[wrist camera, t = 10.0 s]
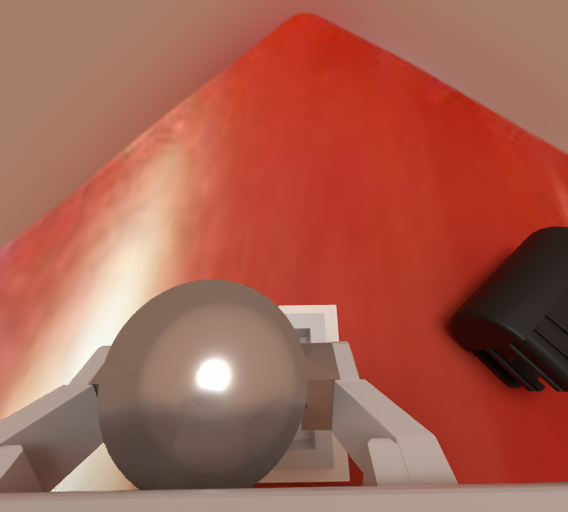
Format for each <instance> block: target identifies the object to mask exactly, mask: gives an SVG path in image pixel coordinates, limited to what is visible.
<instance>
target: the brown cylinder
mask: <svg viewBox="0 0 568 512" xmlns="http://www.w3.org/2000/svg"><path fill="white" fill-rule="evenodd" d="M307 378H308V377H307V367H306V360H305V356H304V352H303V348H302V345H301V342H300V340H299V337H298V335H297V333H296V331H295V329H294V327H293V325H292V324H291V322H290V321H289V319H288V318H287V317H286V315H285V314H284V313H283V312H282V311H281V309H280V308H279V307H278V306H277V305H276V304H275V303H273V302H272V301H271V300H270V299H269V298H267V297H266V296H264V295H263V294H261V293H260V292H258V291H256V290H254V289H252V288H250V287H248V286H246V285H242V284H239V283H236V282H231V281H225V280H198V281H193V282H189V283H185V284H182V285H179V286H176V287H173V288H171V289H169V290H167V291H165V292H162V293H161V294H159V295H158V296H156V297H154V298H153V299H151V300H150V301H149V302H147V303H146V304H145V305H143V306H142V307H141V308H140V309H139V310H138V311H137V312H136V313H135V314H134V315H133V316H132V317H131V318H130V319H129V320H128V321H127V323H126V324H125V325H124V326H123V328H122V329H121V331H120V332H119V334H118V335H117V337H116V338H115V340H114V342H113V344H112V346H111V348H110V350H109V352H108V354H107V357H106V359H105V362H104V365H103V368H102V372H101V376H100V380H99V387H98V395H97V411H98V419H99V426H100V430H101V434H102V438H103V441H104V443H105V446H106V448H107V450H108V453H109V455H110V456H111V458H112V460H113V461H114V463H115V465H116V466H117V468H118V469H119V470H120V471H121V472H122V474H123V475H124V476H125V477H126V478H127V479H128V480H129V481H130V482H131V483H133V484H134V485H135V486H136V487H137V488H139V489H140V490H182V489H236V488H251V487H252V486H254V485H255V484H257V483H258V482H259V481H260V480H261V479H263V478H264V477H265V476H266V475H267V474H268V473H269V472H270V471H271V470H272V469H273V468H274V467H275V466H276V465H277V464H278V463H279V461H280V460H281V458H282V457H283V456H284V454H285V453H286V452H287V450H288V448H289V447H290V445H291V443H292V441H293V439H294V438H295V436H296V433H297V431H298V428H299V426H300V423H301V420H302V416H303V413H304V409H305V404H306V397H307Z"/></svg>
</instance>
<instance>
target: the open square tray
mask: <svg viewBox="0 0 568 512" xmlns="http://www.w3.org/2000/svg"><path fill="white" fill-rule="evenodd" d="M278 307H279V308H280V309H281V311H282V312H283V313H284V314H285V315H286V317H287V318H288V319H289V321H290V322H291V324H292V325H293V327H294V329H295V331H296V333H297V335H298V337H299V340H300V342H301V343H324V342H337V341H339V335H338V323H337V310H336V305H301V306H278ZM339 481H350V476H349V463H348V453H347V451H346V450H345V449H344V447H343V446H342V445H341V444H340V442H339V441H338V440H337V438H336V437H335V436H334V434H333V433H332V430H302V427H301V423H300V426H299V428H298V431H297V433H296V436H295V438H294V439H293V441H292V443H291V445H290V447H289V448H288V450H287V452H286V453H285V454H284V456H283V457H282V458H281V460H280V461H279V463H278V464H277V465H276V466H275V467H274V468H273V469H272V470H271V471H270V472H269V473H268V474H267V475H266V476H265V477H264V478H263V479H261V480H260V481H259V482H258V483H282V482H339Z"/></svg>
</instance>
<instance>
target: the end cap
mask: <svg viewBox="0 0 568 512" xmlns="http://www.w3.org/2000/svg"><path fill="white" fill-rule="evenodd" d="M452 326H453V330H454V332H455V334H456V336H457V337H458V339H459V340H460V341H461V343H462V344H463V345H464V346H465V347H466V348H467V349H468V350H469V351H470V352H472V353H473V354H474V355H475V356H477V357H478V358H479V359H480V360H481V361H482V362H483V363H484V364H485V365H486V366H487V367H488V368H489V369H490V370H491V371H492V372H493V373H494V374H495V375H497V376H498V377H499V378H500V379H501V380H502V381H503V382H504V383H505V384H506V385H508V386H509V387H520V386H524V387H525V388H526V389H527V390H528V391H542V390H543V389H544V388H545V386H544V385H542V384H541V383H540V382H539V381H538V380H537V379H538V378H539V376H540V377H541V378H543V379H544V380H545V381H546V382H547V383H548V384H549V385H550V386H551V387H553V388H554V389H555V390H556V391H561V392H568V227H548V228H544V229H540V230H538V231H536V232H534V233H532V234H531V235H530V236H529V237H528V238H527V239H526V240H525V241H524V242H523V243H522V244H521V245H520V246H519V247H518V248H517V249H516V250H515V251H514V252H513V253H512V254H511V255H510V256H509V257H508V258H507V260H506V261H505V262H504V263H503V264H502V265H501V266H500V267H499V268H498V269H497V270H496V271H495V272H494V273H493V274H492V275H491V276H490V277H489V278H488V279H487V280H486V282H485V283H484V284H483V285H482V286H481V287H480V288H479V289H478V290H477V291H476V292H475V293H474V294H473V295H472V296H471V297H470V298H469V299H468V300H467V301H466V302H465V303H464V305H463V306H462V307H461V308H460V309H459V310H458V311H457V312H456V313H455V314H454V316H453V318H452Z"/></svg>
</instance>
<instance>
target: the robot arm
mask: <svg viewBox="0 0 568 512" xmlns="http://www.w3.org/2000/svg"><path fill="white" fill-rule="evenodd" d="M301 345H302V348H303V352H304V356H305V360H306V367H307V377H308V378H307V397H306V404H305V409H304V413H303V416H302V420H301V427H302V430H332V433H333V434H334V436H335V437H336V438H337V440H338V441H339V442H340V444H341V445H342V446H343V447H344V449H345V450H346V451H347V453H348V454H349V455H350V457H351V458H352V459H353V461H354V462H355V463H356V465H357V466H358V467H359V469H360V470H361V471H362V472H363V474H364V476H363V484H362V486H342V487H289V488H236V489H182V490H128V491H74V492H50V491H51V490H52V489H53V488H54V487H55V486H57V485H58V484H59V483H60V482H61V481H62V480H63V479H64V478H65V477H66V476H67V475H68V474H70V473H71V472H72V471H73V470H74V469H75V468H76V467H77V466H78V465H79V464H80V463H81V462H83V461H84V460H85V459H86V458H87V457H88V456H89V455H90V454H91V453H92V452H93V451H94V450H96V449H97V448H98V447H99V446H100V445H101V444H102V443H103V442H104V441H103V438H102V434H101V430H100V426H99V419H98V411H97V395H98V387H99V380H100V376H101V372H102V368H103V365H104V362H105V359H106V357H107V354H108V352H109V350H110V348H111V346H102V347H100V348H98V349H97V350H96V352H95V353H94V354H93V355H92V357H91V358H90V359H89V360H88V362H87V363H86V364H85V365H84V366H83V368H82V369H81V370H80V371H79V373H78V374H77V375H76V376H75V378H74V379H73V380H72V381H71V382H70V384H69V385H63V386H61V387H59V388H57V389H56V390H54V391H52V392H50V393H49V394H47V395H45V396H43V397H42V398H40V399H38V400H36V401H35V402H33V403H31V404H29V405H28V406H26V407H24V408H22V409H21V410H19V411H17V412H15V413H14V414H12V415H10V416H8V417H7V418H5V419H3V420H1V421H0V512H568V482H559V483H506V484H458V482H457V480H456V478H455V476H454V474H453V472H452V470H451V468H450V466H449V464H448V462H447V460H446V458H445V456H444V453H443V451H442V449H441V447H440V445H439V443H438V441H437V439H436V437H435V436H434V435H433V434H432V433H431V432H429V431H428V430H427V429H426V428H424V427H423V426H422V425H421V424H419V423H418V422H417V421H416V420H415V419H413V418H412V417H411V416H410V415H408V414H407V413H406V412H405V411H403V410H402V409H401V408H400V407H398V406H397V405H396V404H395V403H393V402H392V401H391V400H390V399H389V398H387V397H386V396H385V395H384V394H382V393H381V392H380V391H379V390H377V389H376V388H375V387H374V386H372V385H371V384H370V383H369V382H368V381H366V380H360V378H359V374H358V371H357V368H356V365H355V361H354V358H353V355H352V352H351V348H350V345H349V343H348V342H347V341H337V342H324V343H301Z"/></svg>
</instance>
